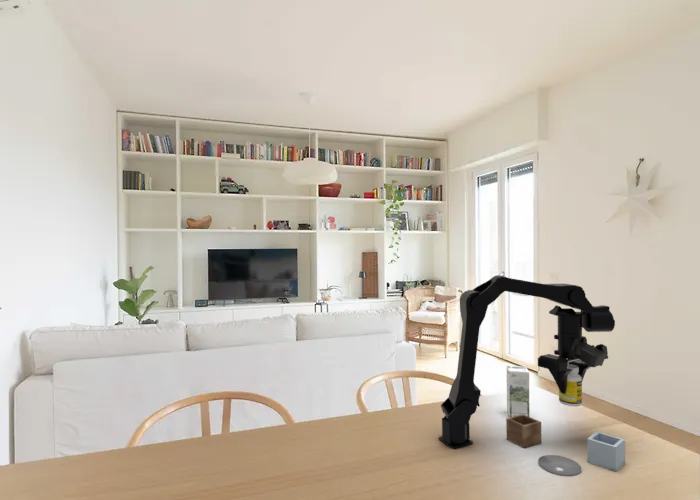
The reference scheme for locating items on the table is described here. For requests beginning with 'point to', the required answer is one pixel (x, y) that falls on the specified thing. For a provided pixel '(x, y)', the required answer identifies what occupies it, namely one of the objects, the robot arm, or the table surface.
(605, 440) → the slate cup
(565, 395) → the supplement bottle
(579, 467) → the coaster
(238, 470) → the table surface
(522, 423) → the walnut box
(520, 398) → the syrup box
